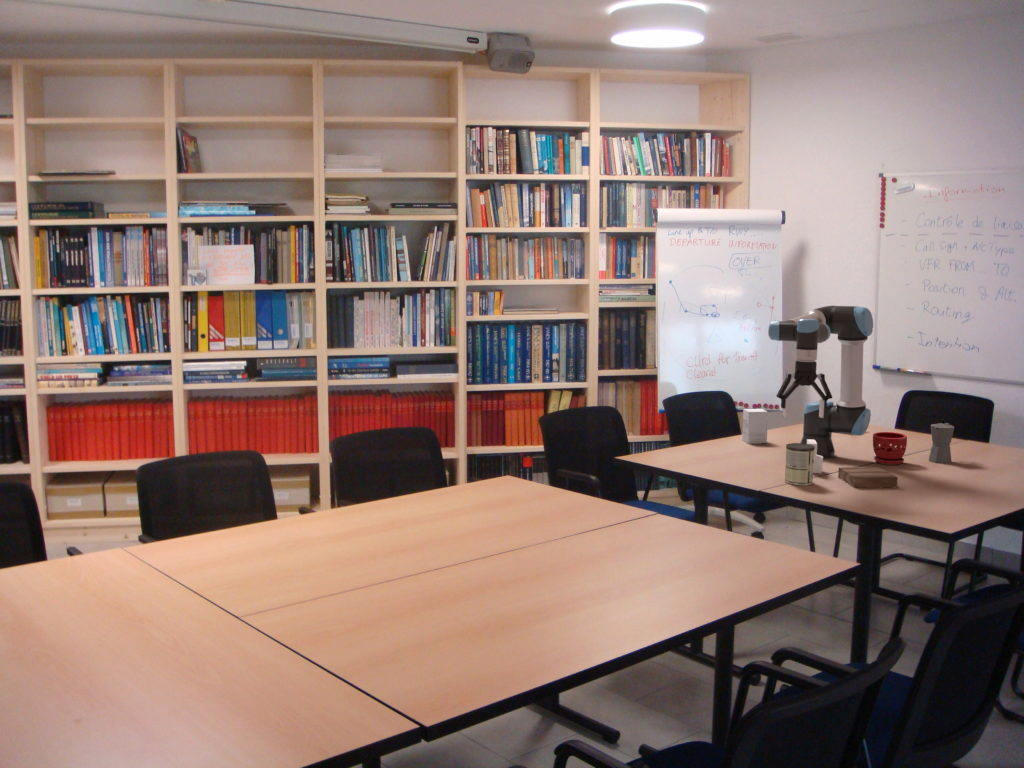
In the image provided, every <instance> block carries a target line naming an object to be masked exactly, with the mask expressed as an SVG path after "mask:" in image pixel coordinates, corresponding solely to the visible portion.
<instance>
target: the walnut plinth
mask: <svg viewBox="0 0 1024 768" xmlns="http://www.w3.org/2000/svg"><path fill="white" fill-rule="evenodd" d="M837 471H838V472H837V473H838V474H837V478H838V477H839V478H838V479H839V480H841V479H842V480H841V481H843V482H844V481H845V483H846V484H847V483H848V484H847V485H849V484H850V485H849V486H851V487H852V486H853V487H852V488H854V487H897V488H898V480H899V479H898V476H896V475H894V474H893V473H891V472H889V471H887V470H885V469H883V468H882V467H847V466H846V467H845V466H844V467H838V470H837Z"/></svg>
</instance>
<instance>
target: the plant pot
mask: <svg viewBox="0 0 1024 768" xmlns="http://www.w3.org/2000/svg"><path fill="white" fill-rule="evenodd" d="M907 446H908V436H907V435H906V434H904V433H900V432H893V431H891V432H890V431H879V432H875V433H873V434H872V448H873V452H874V457H873V459H874V461H875V462H877V463H878V462H879V464H882V465H887V464H892V465H891V466H893V465H894V466H897V465H896V464H898V465H902V464H903V463H904V461H905V459H904V455H905V452H906V450H907Z"/></svg>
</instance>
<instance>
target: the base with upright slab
mask: <svg viewBox="0 0 1024 768" xmlns="http://www.w3.org/2000/svg"><path fill="white" fill-rule="evenodd" d="M807 444H810V445H813V446H815V449H814V466H813V473H819V474H822V473H823V465H824V458H823V456H820V455H817V442H816V441H815V440H813V439H807Z"/></svg>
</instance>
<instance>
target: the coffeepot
mask: <svg viewBox="0 0 1024 768" xmlns="http://www.w3.org/2000/svg"><path fill="white" fill-rule="evenodd" d="M945 421H946V419H944V418H942V419H940V423H934V424H933V423H932V424H930V430H931V441H932V444H931V448H930V451H929V456H928V461H929V462H930V461H931V463H934V462H935V463H934V464H942V463H948V464H951V463H953V462H952V454H951V453H952V452H951V443H952V439H953V436H954V432H955V431H954V430H955V426H954V425H952V424H951V423H950V422H945Z"/></svg>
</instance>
